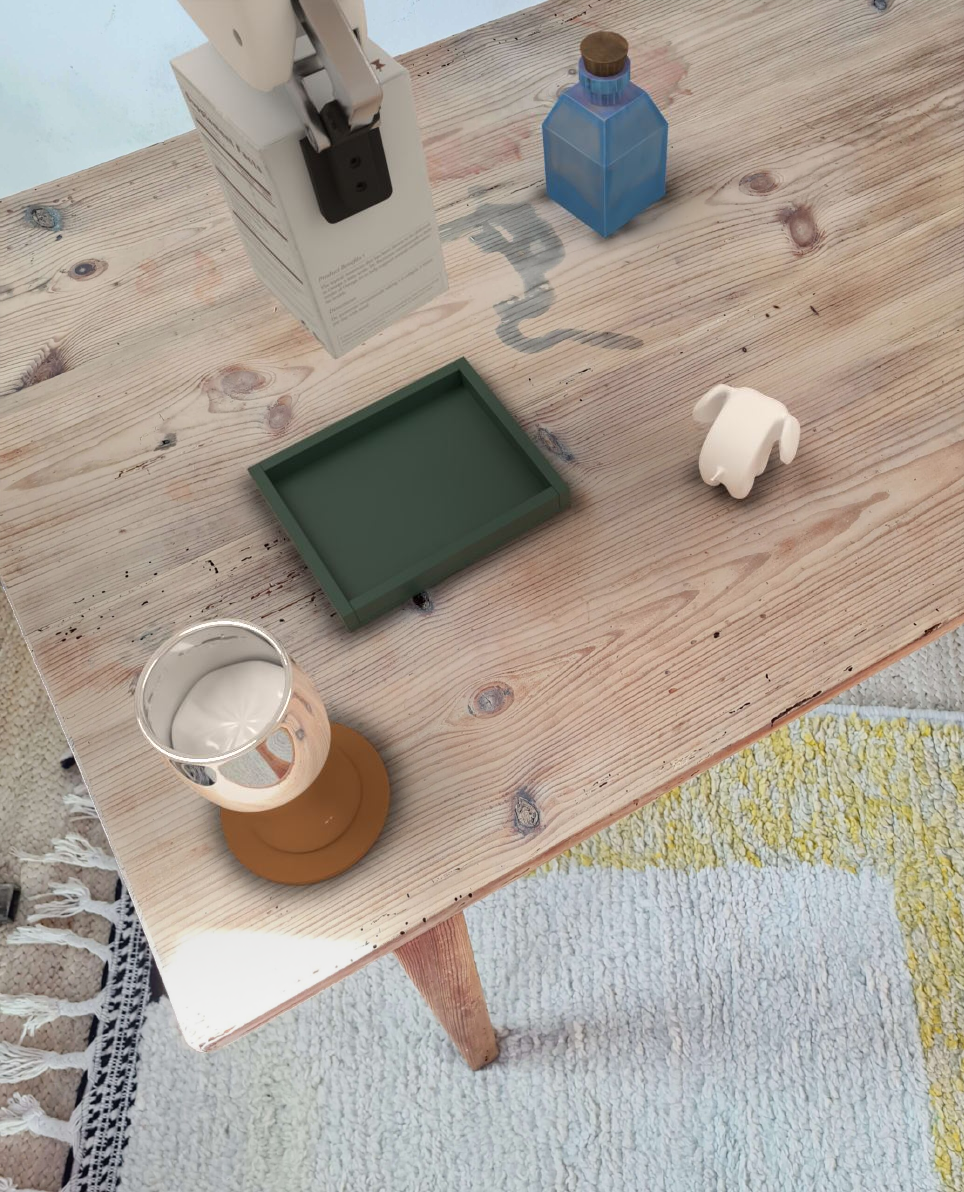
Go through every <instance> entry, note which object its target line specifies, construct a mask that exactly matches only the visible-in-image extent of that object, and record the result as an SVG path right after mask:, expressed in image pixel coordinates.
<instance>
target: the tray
mask: <svg viewBox="0 0 964 1192" xmlns="http://www.w3.org/2000/svg"><path fill="white" fill-rule="evenodd" d="M246 471H247V472H248V474H249V476H250V478H251V479H252V481H253V484H254V485H255V487H256V489H257V490H258V492H259V494H260V495H261V496H262V499H263V500H264V501H265V503H266V504H267V506H268V507H269V509H270V510H271V512H272V514H273V515H274V517H275V519H276V520H277V522H278V523H279V525H280V526H281V528H282V530H283V532H284V533H285V534H286V536H287V538H288V539H289V541H290V542H291V544H292V545H293V547H294V548H295V550H296V551H297V553H298V555H299V556H300V558H301V560H302V561H303V562H304V564H305V566H306V568H307V569H308V571H309V572H310V573H311V575H312V577H313V578H314V580H315V581H316V583H317V584H318V586H319V588H320V589H321V591H322V593H323V595H324V596H325V597H326V599H327V600H328V602H329V603H330V605H331V607H332V608H333V610H334V612H335V613H336V614H337V616H338V618H339V619H340V621H341V622H342V624H343V625H344V627H345V629H346V630H347V632H348V633H349V634H351V633H353V632H355V631H356V630H359V629H360V628H362V627H363V626H365V625H367V624H368V623H370V622H372V621H374V620H375V619H377V618H379V617H381V616H383V615H385V614H386V613H388V612H389V611H391V610H393V609H395V608H396V607H398V606H400V605H401V604H403V603H405V602H407V601H408V600H410V599H412V598H414V597H415V596H417V595H419V594H421V593H422V592H424V591H426V590H428V589H429V588H431V587H433V586H435V585H436V584H438V583H439V582H442V581H443V580H445V579H446V578H448V577H450V576H452V575H453V574H455V573H457V572H459V571H461V570H462V569H464V568H466V567H467V566H469V565H471V564H473V563H474V562H476V561H478V560H480V559H481V558H483V557H485V556H486V555H488V554H490V553H492V552H494V551H495V550H497V549H499V548H500V547H502V546H503V545H506V544H507V543H509V542H511V541H512V540H514V539H516V538H517V537H519V536H522V535H523V534H525V533H526V532H528V531H530V530H532V529H533V528H535V527H537V526H539V525H540V524H542V523H544V522H545V521H548V520H549V519H551V518H552V517H554V516H556V515H557V514H559V513H561V512H563V511H565V510H566V509H568V508H570V507H571V505H572V504H571V503H572V501H571V488H570V487H569V485H568V484H567V483H566V481H565V480H564V479H563V478H562V476H561V475H560V474H559V473H558V472H557V471H556V469H555V468H554V467H553V465H552V464H551V463H550V461H548V459H547V457H545V455H544V454H543V453H542V452H541V450H539V448H538V447H537V446H536V444H535V443H534V442H533V440H532V439H531V438H530V436H528V434H527V433H526V432H525V430H524V429H523V428H522V427H521V425H520V424H519V423H518V421H516V419H515V418H514V417H513V415H512V414H511V413H510V411H508V409H507V408H506V407H505V406H504V404H503V403H502V401H500V399H499V398H498V397H497V396H496V394H495V393H494V392H493V391H492V389H491V388H490V387H489V385H488V384H487V382H485V381H484V380H483V378H482V377H481V376H480V374H479V373H478V372H477V370H475V368H474V367H473V366H472V365H471V363H470V362H469V361H468V359H467V358H466V357H465V356H464V355H463V356H461V357H459V358H457V359H455V360H454V361H450V363H447V364H445V365H444V366H441V367H440V368H437V369H436V370H434V371H432V372H430V373H428V374H426V375H424V376H423V377H421V378H419V379H417V380H415V381H413V382H411V383H409V384H407V385H405V386H403V387H401V388H399V389H397V390H395V391H394V392H392V393H390V394H387V395H386V396H384V397H382V398H380V399H378V400H376V401H374V402H372V403H370V404H368V405H366V406H365V407H363V408H360V409H359V410H356V411H354V412H353V413H351V414H349V415H347V416H345V417H344V418H341V419H340V420H338V421H336V422H334V423H332V424H329V425H327V426H326V427H324V428H322V429H320V430H318V431H316V432H314V433H313V434H311V435H309V436H306V437H305V438H303V439H301V440H299V441H297V442H295V443H294V444H291V445H289V446H288V447H285V448H284V449H282V450H280V451H278V452H276V453H274V454H272V455H270V456H269V457H266V458H264V459H263V460H261V461H258V462H257V463H255V464H253V465H251V466H249V467H247V468H246Z"/></svg>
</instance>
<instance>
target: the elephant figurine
mask: <svg viewBox="0 0 964 1192" xmlns="http://www.w3.org/2000/svg"><path fill="white" fill-rule="evenodd" d="M691 417H692V419H693V421H695V422H699V423H703V424H708V423H712V422H713V423H712V425H711V426H710V429H709V431H708V433H707V435H706V437H705V439H704V442H703V443H702V448H701V449H700V453H699V458H698V469H699V473H700V477H701V478H702V480H703V482H704V483H705V484H706V485H708V486H711V487H717V486H719V485H720V484H722V485H724V487H725V488H726V490H727V491H728V493H729V495H730V496H731V497H732V498H734V499H738V500H741V499H745V498H746V497H747V496H748V495H749V493H750V492H751V490H752V488H753V486H754V482H755V478H756V477H758V476H760V475H762V474H763V473H764V472H765V470H766V467H767V464H768V461H769V458H770V455H771V452H772V450H773V448H774V445H775V443H776V442H777V441H778V451H779V459H780V461H781V462H783V463H784V465H790V464H791V463H792V462H793V460H794V458H795V457H796V454H797V451H798V448H799V442H800V438H801V425H800V422H799V420H798V419H797V418H796V417H795V416H793V415H792V414H791V413H790V412H789V410H788V408H787V406H786V405H785V404H784V403H783V402H781V401H779V400H777V399H776V398H772V397H770V396H767V395H766V394H763V393H761V392H760V391H758V390H757V389H754V388H751V387H747V386H746V387H745V386H742V387H733V386H730V385H727V384H726V383H719V384H717V385H715V386H713V387H711V389H709V390H708V391H707V392H706V393H705V394H704V395H702V397H701V398H700V399H699V400H698V402H696V404H695V405H694V408H693V409H692V416H691Z"/></svg>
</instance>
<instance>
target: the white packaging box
mask: <svg viewBox="0 0 964 1192" xmlns="http://www.w3.org/2000/svg"><path fill="white" fill-rule="evenodd" d="M314 51H315V49H314V47H313V46H312V44H311V42H310V40H309V38H308V36H307V34H306V35H304V36H301V37H299V38H296V46H295V55H294V60H295V59H297V58H300V57H302V56H305V55H307V54H309V53H312V52H314ZM363 51H364V53H365V55H366V57H367V59H368V61H369V62H370V64H371V66H372V68H373V70H374V72H375V74H376V76H377V78H378V80H379V82H380V84H381V87H382V91H383V99H382V102H381V104H380V106H381V109H380V110H379V111H380V119H381V126H379V129H380V134H381V138H382V143H383V147H384V152H385V156H386V161H387V165H388V170H389V174H390V179H391V183H392V188H393V192H392V195H391V196H390V197H389V198H388V199H387V200H385V201H383V202H381V203H379V204H376V205H374V206H372V207H370V208H368V209H366V210H364V211H361V212H359V213H357V214H355V215H353V216H351V217H349V218H346V219H344V220H342V221H340V222H338V223H335V224H330V223H328V222H327V221H326V219H325V218H324V217H323V216H322V214H321V212H320V209H319V206H318V202H317V199H316V196H315V192H314V189H313V186H312V182H311V179H310V176H309V173H308V169H307V166H306V163H305V159H304V156H303V153H302V149H301V146H300V143H299V140H301V139H303V138H305V137H306V133H305V131H304V129H303V127H302V124H301V122H300V120H299V118H298V115H297V113H296V111H295V109H294V107H293V104H292V102H291V100H290V98H289V95H288V93H287V91H286V89H285V86H284V84H282V85H280V86H277V87H274V90H273V91H270V92H263V91H261V90H258V89H256V88H254V87H252V86H250V85H249V84H248V83H246V82H245V81H244V80H243V79H242V78H241V77H240V76H239V75H238V74H237V73H236V72H235V70H234V69H233V68H232V67H231V66H230V65H229V63H228V62H227V61H226V60H225V59H224V58H223V56H222V55H221V54H220V53H219V52H218V50H217V49H216V48H215V47H214V46H213V44H212V43H211V42H210V41H209V40H208V41H206V42H204V43H202V44H200V45H199V46H196V47H194V48H192V49H190V50H188V51H185V52H184V53H182V54H180V55H177V56H175V57H173V58H171V59H170V60H169V65H170V67H171V70H172V72H173V75H174V77H175V80H176V83H177V85H178V87H179V89H180V92H181V95H182V97H183V99H184V101H185V104H186V106H187V109H188V112H189V114H190V116H191V119H192V121H193V124H194V127H195V129H196V131H197V134H198V137H199V138H200V141H201V143H202V146H203V148H204V150H205V153H206V155H207V158H208V160H209V162H210V165H211V168H212V170H213V174H214V175H215V178H216V180H217V182H218V185H219V187H220V190H221V193H222V195H223V197H224V198H223V199H224V200H225V203H226V206H227V209H228V211H229V213H230V215H231V219H232V221H233V223H234V225H235V228H236V231H237V233H238V236H239V239H240V241H241V244H242V246H243V248H244V251H245V254H246V256H247V259H248V261H249V264H250V267H251V268H252V271H253V273H254V276H255V278H256V280H257V281H259V282H260V283H261V285H263V286H264V287H265V288H266V290H268V292H269V293H270V294H271V295H272V296H273V297H274V298H275V299H276V300H277V301H278V302H279V303H280V304H281V306H283V307H284V309H286V311H288V312H289V314H290V315H291V316H292V317H293V318H294V319H295V320H296V321H297V322H298V323H299V324H300V325H301V326H302V327H303V328H304V329H305V330H306V331H307V332H308V333H309V335H310V336H311V337H312V338H313V339H314V340H315V341H316V342H317V343H318V344H319V345H320V346H321V347H322V348H323V349H324V350H325V351H326V353H328V354H329V355H330V356H331V358H332V359H334V360H338V359H340V358H342V357H343V356H345V355H346V354H348V353H349V352H351V351H352V350H354V349H356V348H357V347H358V346H361V345H362V344H363V343H365V342H367V341H368V340H370V339H372V338H374V337H375V336H377V335H378V334H380V333H381V332H383V331H384V330H386V329H388V328H389V327H391V326H393V325H394V324H396V323H397V322H399V321H401V320H402V319H404V318H405V317H407V316H409V315H410V314H412V313H413V312H415V311H417V310H418V309H420V308H421V307H423V306H425V305H426V304H428V303H430V302H432V301H433V300H434V299H436V298H438V297H439V296H440V295H443V294H444V293H446V292H448V290H450V284H449V279H448V273H447V267H446V263H445V258H444V252H443V246H442V239H441V236H440V230H439V225H438V220H437V215H436V209H435V204H434V199H433V193H432V188H431V183H430V177H429V172H428V166H427V160H426V155H425V151H424V145H423V140H422V139H423V138H422V134H421V129H420V124H419V117H418V113H417V108H416V102H415V97H414V91H413V86H412V85H413V84H412V80H411V75H410V70H408V69H407V68H406V67H405V66H404V65H402V64H401V63H400V62H398V61H397V60H396V59H395V58H394V57H392V56H391V55H390V54H389V53H388V52H386V51H385V49H383V48H382V47H381V46H379V45H378V44H377V43H376V42H374V40H372V38H370V37H369V36H367V41H366V44H365V47H364V49H363ZM303 79H304V81H305V83H306V86H307V88H308V90H309V92H310V95H311V97H312V99H313V102H314V104H315V106H316V108H317V111H318V113H319V112H320V111H321V109H322V108H323V107H324V105H325V104H326V103H328V102H331V101H333V100H334V97H333V95H332V92H333V87H332V83H331V81H330V78H329V76H328V74H327V72H326V70H325V69H324V70H321V71H319V72H317V73H314V74H312V75H310V76H307V77H305V78H303Z"/></svg>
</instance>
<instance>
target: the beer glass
mask: <svg viewBox="0 0 964 1192" xmlns="http://www.w3.org/2000/svg"><path fill="white" fill-rule="evenodd" d="M133 708H134V716H135V721H136V723H137V727H138V728H139V730H140V733H141V734H142V736H143V737H144V739H145V740H146V741H147V742H148V744H149V745H150V746H151V747H152V748H153V749H154V750H155V751H156V752H157V754H158V756H160V758H161V759H162V760H163V761H164V762H165V764H166V765H167V766H168V767H169V769H170V770H171V771H172V772H173V773H174V774H175V775H176V776H177V777H178V778H179V779H180V780H181V781H182V782H183V783H184V784H185V785H187V786H188V787H189V788H190V789H191V790H193V791H194V792H195V793H197V794H198V795H200V796H201V797H202V798H204V799H205V800H208V801H209V802H211V803H213V804H215V805H217V806H219V807H220V808H221V807H223V808H226V809H229V810H231V811H234V812H237V813H240V814H243V815H246V816H247V817H248V819H249V822H250V824H251V826H252V828H253V830H254V831H255V832H256V834H257V835H258V836H259V837H260V839H261V840H263V841H264V842H265V843H266V844H268V845H269V846H271V847H273V848H275V849H278V850H281V851H285V852H291V853H304V852H310V851H314V850H317V849H320V848H322V847H324V846H326V845H328V844H330V843H331V842H333V841H334V840H336V839H337V838H338V837H339V836H341V835H342V834H343V833H344V832H345V830H346V829H347V828H348V827H349V825H350V824H351V822H352V821H353V819H354V817H355V815H356V813H357V810H358V807H359V803H360V798H361V784H360V779H359V775H358V773H357V770H356V768H355V767H354V765H353V763H352V762H351V761H350V760H349V758H348V757H347V756H346V755H345V754H344V753H342V752H341V751H340V750H339V749H337V748H336V747H334V746H333V742H332V735H331V730H330V724H329V722H330V720H329V717H328V714H327V710H326V707H325V704H324V702H323V700H322V698H321V696H320V694H319V692H318V690H317V688H316V686H315V684H314V683H313V681H312V680H311V679H310V676H309V675H308V674H307V673H306V671H305V669H303V667H302V666H301V665H300V664H299V663H298V661H297V660H296V659H295V657H293V656H292V654H291V653H290V652H289V651H288V650H287V649H286V647H285V646H284V644H283V643H282V642H281V640H279V638H278V637H277V636H276V635H275V634H274V633H272V632H271V631H270V630H268V629H267V628H265V627H264V626H261V625H260V624H257V623H255V622H252V621H249V620H246V619H240V618H231V617H228V618H227V617H223V618H214V619H207V620H203V621H200V622H197V623H194V624H192V625H189V626H188V627H185V628H183V629H181V630H180V631H178V632H176V633H175V634H173V635H172V636H171V637H169V638H168V639H167V640H165V641H164V642H163V643H162V644H161V645H159V647H158V648H157V649H155V651H154V652H153V653H152V655H151V656H150V657H149V659H148V660H147V661H146V663H145V665H144V666H143V668H142V670H141V673H140V674H139V677H138V680H137V682H136V687H135V690H134V698H133Z"/></svg>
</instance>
